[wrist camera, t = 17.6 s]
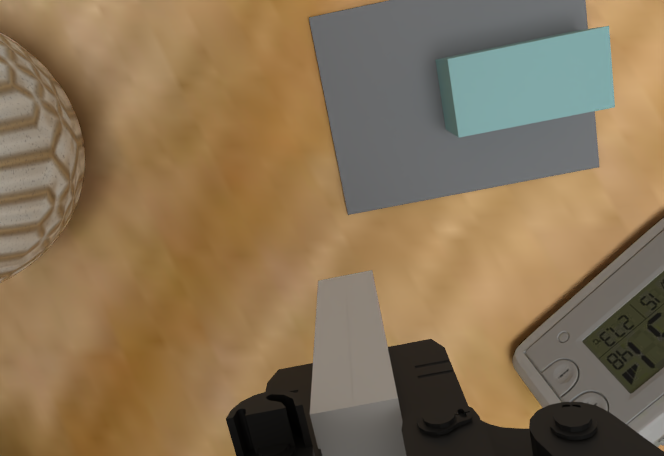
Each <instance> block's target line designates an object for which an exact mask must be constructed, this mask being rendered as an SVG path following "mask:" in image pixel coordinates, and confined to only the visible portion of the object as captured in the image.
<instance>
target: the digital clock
mask: <svg viewBox="0 0 664 456" xmlns="http://www.w3.org/2000/svg"><path fill="white" fill-rule="evenodd" d="M512 362H513V366H514V368H515V370H516V371H517V373H518V374H519V376H520V377H521V378H522V380H523V381H524V383H525V384H526V385H527V387H528V388H529V389H530V391H531V392H532V393H533V395H534V396H535V398H536V399H537V400H538V402H539V403H540V404H541V406H542V407H543V408H544V407H546V406H548V405H551V404H556V403H561V402H583V403H587V404H592V405H596V406H598V407H600V408H602V409H604V410H606V411H608V412H610V413H611V414H613V415H614V416H616V417H617V418H618V419H620V420H621V421H622V422H624V423H625V424H626V425H628V426H629V427H631V428H632V429H633V430H635V431H636V432H637V433H639V434H640V435H641V436H643V437H644V438H645V439H647V440H648V441H650V442H651V443H652V444H654V445H655V446H656V447H658V446H659V445H664V218H663V219H661V220H660V221H659V222H658V223H656V224H655V225H654V226H653V227H652V228H651V229H649V230H648V231H647V232H646V233H645V234H644V235H642V236H641V237H640V238H639V239H638V240H637V241H636V242H634V243H633V244H632V245H631V246H630V247H629V248H628V249H627V250H625V251H624V252H623V253H622V254H621V255H620V256H619V257H617V258H616V259H615V260H614V261H613V262H612V263H611V264H610V265H608V266H607V267H606V268H605V269H604V270H603V271H602V272H601V273H599V274H598V275H597V276H596V277H595V278H594V279H593V280H591V281H590V282H589V283H588V284H587V285H586V286H585V287H584V288H582V289H581V290H580V291H579V292H578V293H577V294H576V295H574V296H573V297H572V298H571V299H570V300H569V301H568V302H567V303H565V304H564V305H563V306H562V307H561V308H560V309H559V310H557V311H556V312H555V313H554V314H553V315H552V316H551V317H550V318H548V319H547V320H546V321H545V322H544V323H543V324H542V325H541V326H539V327H538V328H537V329H536V330H535V331H534V332H533V333H532V334H531V335H530V336H528V337H527V338H526V339H525V340H524V341H523V342H522V343H521V344H520V345H519V346H518V347H517V349H516V351H515V353H514V356H513V361H512Z"/></svg>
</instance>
